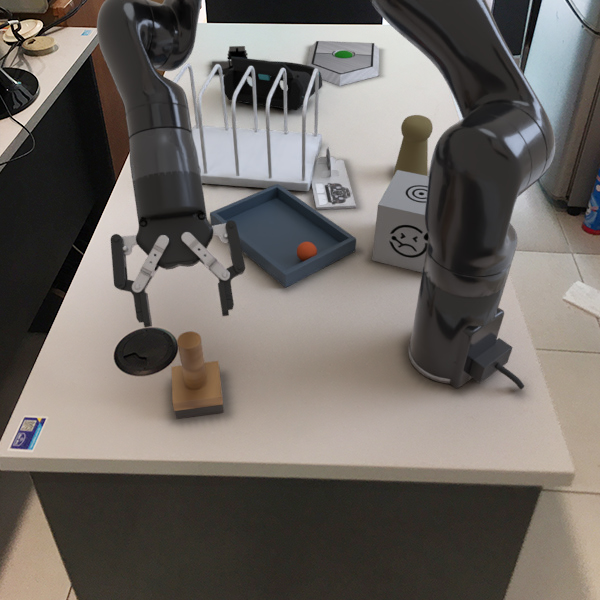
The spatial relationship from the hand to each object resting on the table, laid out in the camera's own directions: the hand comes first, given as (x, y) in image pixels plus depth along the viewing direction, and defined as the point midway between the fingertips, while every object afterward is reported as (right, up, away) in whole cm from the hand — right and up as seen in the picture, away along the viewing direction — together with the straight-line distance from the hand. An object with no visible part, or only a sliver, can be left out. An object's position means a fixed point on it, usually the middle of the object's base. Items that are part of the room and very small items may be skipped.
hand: (187, 321), depth 70 cm
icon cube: (+30, +10, +27) cm, 42 cm away
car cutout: (+18, +22, +41) cm, 50 cm away
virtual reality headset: (+7, +47, +67) cm, 83 cm away
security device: (+23, +57, +78) cm, 100 cm away
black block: (-2, +56, +77) cm, 96 cm away
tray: (+10, +12, +29) cm, 33 cm away
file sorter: (+3, +28, +46) cm, 54 cm away
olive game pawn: (+32, +24, +43) cm, 59 cm away
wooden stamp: (0, -9, +6) cm, 11 cm away
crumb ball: (+14, +9, +23) cm, 29 cm away
